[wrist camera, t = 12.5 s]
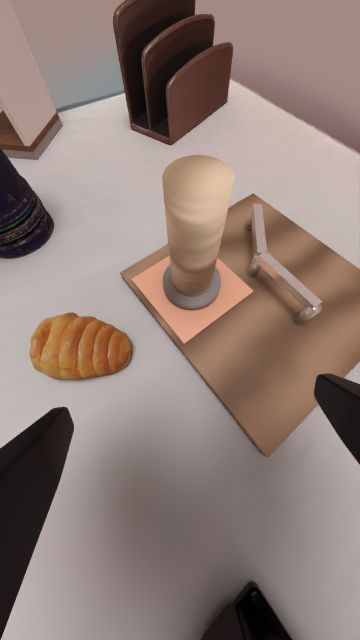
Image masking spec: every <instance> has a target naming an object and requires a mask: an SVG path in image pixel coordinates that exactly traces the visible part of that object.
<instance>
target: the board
mask: <svg viewBox="0 0 360 640" xmlns="http://www.w3.org/2000/svg"><path fill="white" fill-rule="evenodd" d="M253 204H262V209H263V219H264V228H265V237H266V246H267V252H268V253H269V254H270V255H271V256H272V257H273V258H274V259H276V260H277V261H278V262H279V263H280V264H281V265H282V266H283V267H284V268H286V269H287V270H288V271H289V272H290V273H291V274H292V275H293V276H294V277H296V278H297V279H298V280H299V281H300V282H301V283H302V284H303V285H304V286H305V287H307V288H308V289H309V290H310V291H311V292H312V293H313V294H314V295H315V296H317V297H318V298H319V299H320V300H321V301H322V302H321V303H320V305H321V306H322V310H321V311H320V312H319V313H318V314H316V315H315V316H313V317H312V318H311V319H309V320H308V321H306V322H305V323H304V324H302V325H299V324H296V323H295V322H294V320H293V317H294V316H295V315H296V314H297V313H298V312H299V311H301V310H302V309H303V308H304V307H303V306H302V305H301V304H300V303H299V302H298V301H297V300H296V299H295V298H294V297H293V296H292V295H291V294H289V293H288V292H287V291H286V290H285V289H284V288H283V287H282V286H281V285H280V284H279V283H278V282H277V281H276V280H275V279H274V278H273V277H272V276H271V275H269V274H268V273H267V272H266V271H265V270H264V269H263V268H262V267H261V268H260V270H259V272H258V274H257V276H256V277H249V276H248V275H247V271H248V269H249V267H250V265H251V262H252V260H253V258H254V246H253V232H252V231H247V230H245V224H246V221H247V218H248V215H249V212H250V209H251V206H252V205H253ZM168 256H169V246H168V244H167V245H166V246H164V247H162V248H161V249H159V250H157V251H156V252H154V253H152V254H151V255H149V256H147V257H146V258H144V259H142V260H141V261H139V262H137V263H136V264H134V265H132V266H131V267H129V268H127V269H126V270H124V271H122V272H121V273H120V274H121V276H122V278H123V279H124V280H125V282H126V283H127V284H128V285H129V287H130V288H131V289H132V290H133V292H134V293H135V294H136V295H137V297H138V298H139V299H140V300H141V302H142V303H143V304H144V306H145V307H146V308H147V309H148V311H149V312H150V313H151V314H152V316H153V317H154V318H155V319H156V321H157V322H158V323H159V324H160V326H161V327H162V328H163V329H164V331H165V332H166V333H167V334H168V336H169V337H170V338H171V339H172V341H173V342H174V343H175V344H176V346H177V347H178V348H179V349H180V351H181V352H182V353H183V355H184V356H185V357H186V358H187V360H188V361H189V362H190V363H191V365H192V366H193V367H194V368H195V370H196V371H197V372H198V373H199V375H200V376H201V377H202V378H203V380H204V381H205V382H206V383H207V385H208V386H209V387H210V388H211V390H212V391H213V392H214V393H215V395H216V396H217V397H218V398H219V400H220V401H221V402H222V404H223V405H224V406H225V407H226V409H227V410H228V411H229V412H230V414H231V415H232V416H233V417H234V419H235V420H236V421H237V422H238V424H239V425H240V426H241V427H242V429H243V430H244V431H245V432H246V434H247V435H248V436H249V437H250V439H251V440H252V441H253V442H254V444H255V445H256V446H257V447H258V449H259V450H260V451H261V452H262V454H263V455H264V456H266V457H269V456H270V454H271V453H272V452H273V451H274V450H275V449H276V448H277V447H278V446H279V445H280V444H281V443H282V442H283V441H284V440H285V439H286V438H287V437H288V436H289V435H290V434H291V432H292V431H293V430H294V429H295V428H296V427H297V426H298V425H299V424H300V423H301V422H302V421H303V420H304V419H305V418H306V417H307V416H308V415H309V414H310V413H311V412H312V411H313V409H314V408H315V407H316V406H317V405H318V402H317V401H316V399H315V397H314V387H315V382H316V377H317V376H318V375H319V374H325V373H331V374H334V375H337V376H339V377H342V378H344V377H345V376H346V375H347V374H348V373H349V372H350V371H351V370H352V369H353V368H354V367H355V366H356V364H357V363H358V362H359V361H360V269H358V268H357V267H356V266H354V265H353V264H351V263H350V262H349V261H347V260H346V259H344V258H343V257H342V256H340V255H339V254H337V253H336V252H335V251H333V250H332V249H330V248H329V247H328V246H326V245H325V244H323V243H322V242H321V241H319V240H318V239H316V238H315V237H314V236H312V235H311V234H309V233H308V232H307V231H305V230H304V229H302V228H301V227H300V226H298V225H297V224H295V223H294V222H293V221H291V220H290V219H288V218H287V217H286V216H284V215H283V214H281V213H280V212H279V211H277V210H276V209H274V208H273V207H272V206H270V205H269V204H267V203H266V202H265V201H263V200H262V199H260V198H259V197H258V196H256V195H255V194H251V195H250V196H248V197H246V198H245V199H243V200H241V201H240V202H238V203H236V204H235V205H233V206H231V207H230V208H228V212H227V216H226V221H225V225H224V230H223V234H222V239H221V243H220V248H219V252H218V257H217V258H219V259H220V260H221V261H222V262H223V263H224V264H225V265H226V266H227V267H228V268H229V269H230V270H231V271H233V272H234V273H235V274H236V275H237V276H238V277H239V278H240V279H241V280H242V281H243V282H244V283H246V284H247V285H248V286H249V287H250V288H251V289H252V290H253V291H254V292H253V293H252V294H251V295H250V296H248V297H247V298H246V299H244V300H243V301H242V302H240V303H239V304H238V305H236V306H235V307H234V308H232V309H231V310H230V311H228V312H227V313H226V314H224V315H223V316H222V317H221V318H219V319H218V320H217V321H215V322H214V323H213V324H211V325H210V326H209V327H207V328H206V329H205V330H203V331H202V332H201V333H199V334H198V335H197V336H195V337H194V338H193V339H191V340H190V341H189V342H187V343H186V344H185V345H184V344H183V343H182V342H181V341H180V340H179V338H178V337H177V336H176V335H175V333H174V332H173V331H172V330H171V328H170V327H169V326H168V325H167V324H166V322H165V321H164V320H163V319H162V317H161V316H160V315H159V314H158V312H157V311H156V310H155V309H154V308H153V306H152V305H151V304H150V303H149V301H148V300H147V299H146V298H145V296H144V295H143V294H142V293H141V292H140V290H139V289H138V288H137V287H136V285H135V284H134V283H133V282H132V278H134V277H135V276H137V275H139V274H140V273H142V272H144V271H145V270H147V269H148V268H150V267H152V266H153V265H155V264H157V263H158V262H160V261H161V260H163V259H165V258H166V257H168Z"/></svg>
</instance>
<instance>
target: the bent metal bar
mask: <svg viewBox="0 0 360 640" xmlns="http://www.w3.org/2000/svg"><path fill="white" fill-rule="evenodd" d="M245 230H247V231H252V232H253V246H254V258H253V260H252V262H251V265H250V267H249V269H248V271H247V275H248V276H249V277H256V276H257V274H258V272H259V270H260V268H261V267H262V268H263V269H264V270H265V271H266V272H267V273H268V274H269V275H271V276H272V277H273V278H274V279H275V280H276V281H277V282H278V283H279V284H280V285H281V286H282V287H283V288H284V289H285V290H286V291H287V292H288V293H289V294H291V295H292V296H293V297H294V298H295V299H296V300H297V301H298V302H299V303H300V304H301V305H302V306H303V307H304V308H303V309H302V310H301V311H299V312H298V313H297V314H296V315H295V316H294V317H293V320H294V322H295V323H296V324H299V325H302V324H304V323H305V322H306V321H308V320H309V319H311V318H312V317H313V316H315V315H316V314H318V313H319V312H320V311H321V310H322V306H321V305H320V303H321V302H322V301H321V300H320V299H319V298H318V297H317V296H315V295H314V294H313V293H312V292H311V291H310V290H309V289H308V288H307V287H305V286H304V285H303V284H302V283H301V282H300V281H299V280H298V279H297V278H296V277H294V276H293V275H292V274H291V273H290V272H289V271H288V270H287V269H286V268H284V267H283V266H282V265H281V264H280V263H279V262H278V261H277V260H276V259H274V258H273V257H272V256H271V255H270V254H269V253H268V252H267V246H266V237H265V228H264V219H263V209H262V204H253V205H252V206H251V209H250V212H249V215H248V218H247V221H246V224H245Z"/></svg>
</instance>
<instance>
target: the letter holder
mask: <svg viewBox="0 0 360 640" xmlns="http://www.w3.org/2000/svg"><path fill="white" fill-rule="evenodd" d="M113 27H114V33H115V38H116V45H117V51H118V56H119V62H120V67H121V73H122V79H123V84H124V91H125V95H126V101H127V107H128V112H129V118H130V124H131V128H132V130H135V131H137V132H139V133H142V134H144V135H147V136H149V137H151V138H154V139H156V140H159V141H161V142H164V143H166V144H168V145H172V144H173V143H174V142H176V141H177V140H178V139H179V138H181V137H182V136H183V135H185V134H186V133H187V132H188V131H190V130H191V129H192V128H194V127H195V126H196V125H198V124H199V123H200V122H201V121H203V120H204V119H205V118H206V117H208V116H209V115H210V114H212V113H213V112H214V111H215V110H217V109H218V108H219V107H221V106H222V105H223V104H224V103H226V102H227V98H228V89H229V81H230V73H231V64H232V55H233V45H232V44H231V43H230V42H227V43H222V44H218V45H215V46H213V38H214V27H215V21H214V17H213V15H210V14H199V15H195V0H125V1H124V2H123V3H122V4H121V5H119V6H118V7H117V9H116V10H115V12H114V16H113Z"/></svg>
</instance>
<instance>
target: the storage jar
mask: <svg viewBox="0 0 360 640" xmlns="http://www.w3.org/2000/svg"><path fill="white" fill-rule="evenodd" d="M53 229H54V223H53V220H52V218H51V216H50V215H49V213H48V212H47V211H46V209H45V207H44V206H43V204H42V202H41V200H40V199H39V197H38V196H37V194H36V193H35V192H34V191H33V190H32V188H31V187H30V185H29V184H28V183H27V181H26V180H25V179H24V178H23V177H22V176H20V175H19V173H18V172H17V170H16V169H15V167H14V166H13V165H12V163H11V162H10V160H9V159H8V157H7V156H6V155H5V153H4V152H3V150H2V149H1V147H0V258H6V259H9V258H18V257H22V256H25V255H28V254H30V253H32V252H34V251H36V250H37V249H39V248H40V247H41V246H43V245H44V244H45V243H46V242H47V241H48V239H49V238H50V236H51V234H52V232H53Z"/></svg>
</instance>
